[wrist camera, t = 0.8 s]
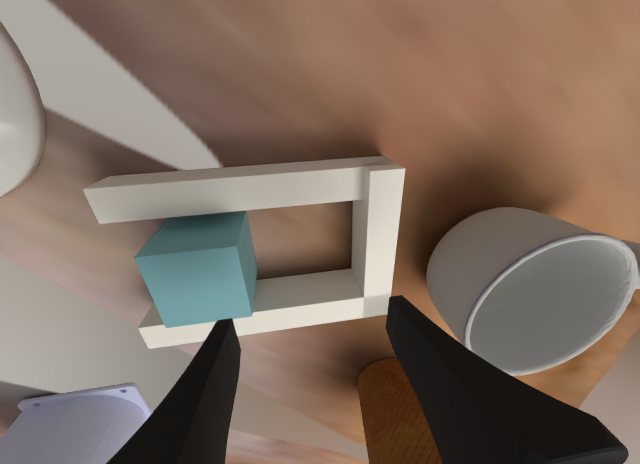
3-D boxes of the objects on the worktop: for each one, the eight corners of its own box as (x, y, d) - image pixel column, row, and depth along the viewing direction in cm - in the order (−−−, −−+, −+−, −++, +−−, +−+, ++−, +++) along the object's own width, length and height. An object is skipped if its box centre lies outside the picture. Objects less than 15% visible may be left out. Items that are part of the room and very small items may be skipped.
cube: (190, 276, 20) (165, 328, 15) (170, 216, 17) (133, 257, 13) (257, 268, 20) (252, 316, 16) (246, 209, 18) (236, 246, 13)
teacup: (405, 307, 25) (457, 391, 18) (413, 200, 19) (491, 259, 12) (539, 281, 26) (638, 351, 19) (581, 174, 21) (739, 215, 14)
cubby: (167, 311, 21) (148, 348, 18) (109, 175, 15) (68, 195, 12) (373, 284, 23) (388, 314, 19) (382, 155, 17) (405, 168, 14)
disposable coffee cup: (434, 344, 28) (530, 495, 17) (411, 397, 32) (477, 544, 22) (348, 350, 26) (397, 520, 16) (337, 405, 30) (369, 567, 20)
